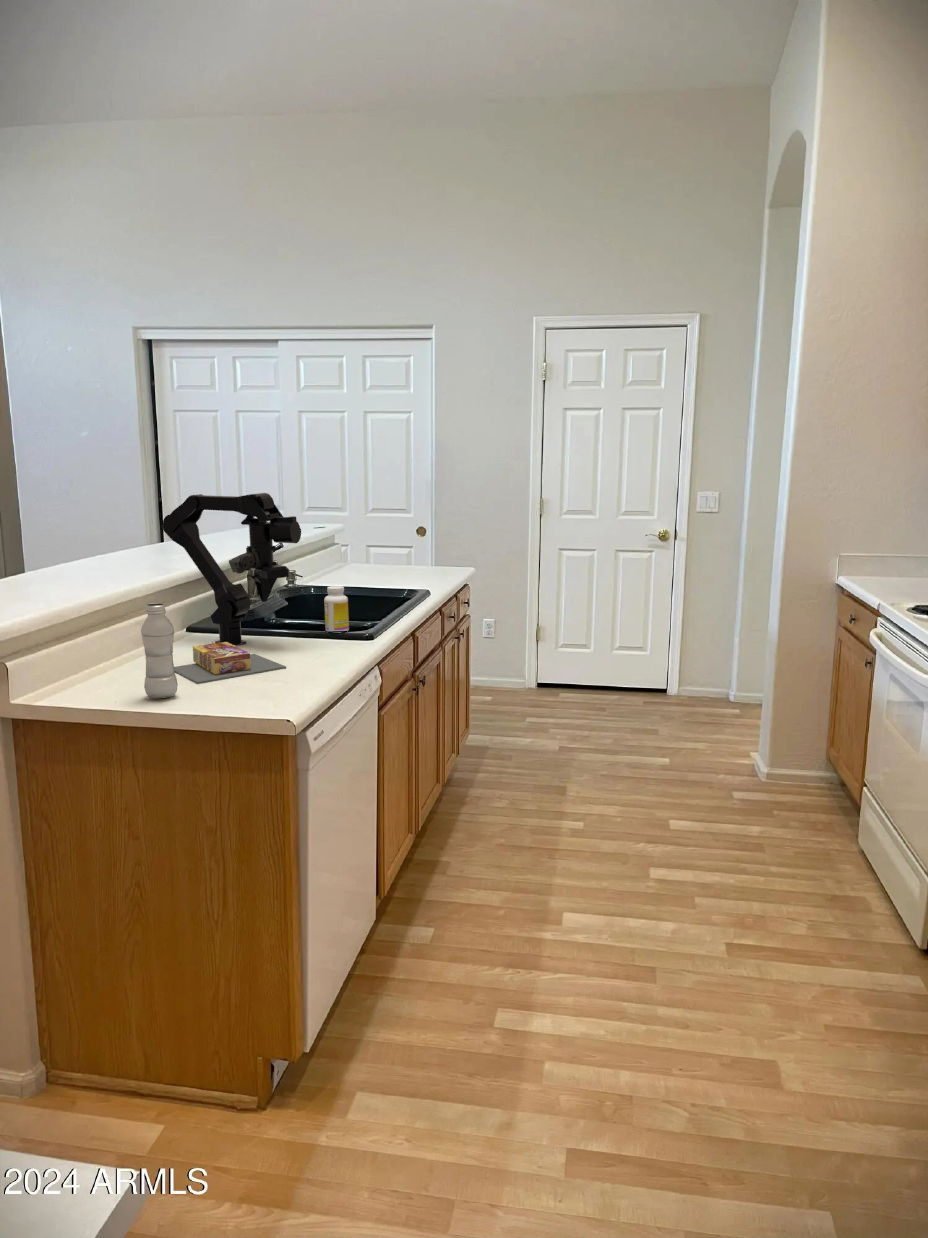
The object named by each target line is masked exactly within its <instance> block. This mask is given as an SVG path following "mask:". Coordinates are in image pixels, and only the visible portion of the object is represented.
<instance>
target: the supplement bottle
mask: <svg viewBox="0 0 928 1238" xmlns="http://www.w3.org/2000/svg"><path fill="white" fill-rule="evenodd" d="M326 592H327V596H325V597H324V600H323V603H324V625H325V626H324V627H325V631H347V632H348V631H349V630H350V621H349V620H350V617H349V598H348V596H346V595H345V594H344V592H345V587H344V586H342V585H331V586H327V591H326Z"/></svg>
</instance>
